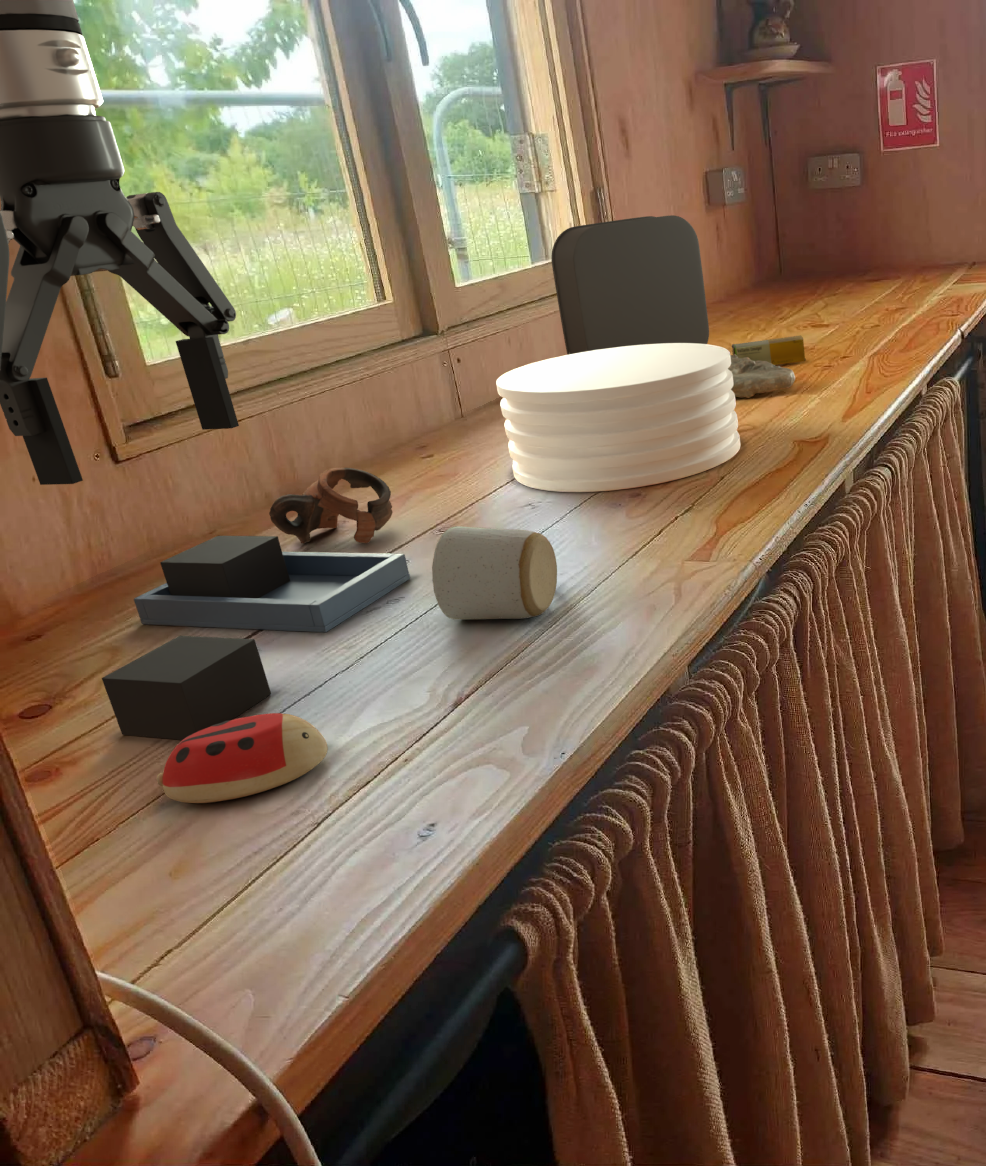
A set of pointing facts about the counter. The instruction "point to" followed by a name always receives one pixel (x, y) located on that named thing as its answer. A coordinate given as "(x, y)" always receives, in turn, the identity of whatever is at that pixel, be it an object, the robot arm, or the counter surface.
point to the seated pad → (227, 568)
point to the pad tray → (288, 595)
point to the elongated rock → (758, 377)
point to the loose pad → (187, 686)
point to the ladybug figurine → (241, 758)
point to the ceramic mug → (493, 573)
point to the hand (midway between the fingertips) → (147, 453)
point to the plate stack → (620, 416)
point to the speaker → (630, 284)
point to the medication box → (772, 350)
